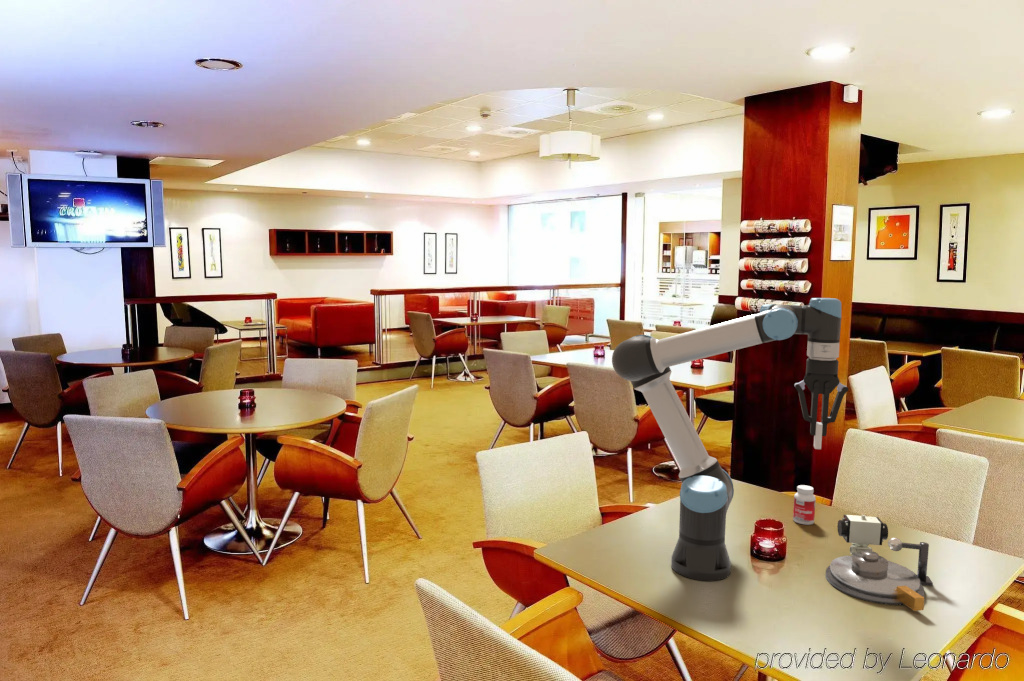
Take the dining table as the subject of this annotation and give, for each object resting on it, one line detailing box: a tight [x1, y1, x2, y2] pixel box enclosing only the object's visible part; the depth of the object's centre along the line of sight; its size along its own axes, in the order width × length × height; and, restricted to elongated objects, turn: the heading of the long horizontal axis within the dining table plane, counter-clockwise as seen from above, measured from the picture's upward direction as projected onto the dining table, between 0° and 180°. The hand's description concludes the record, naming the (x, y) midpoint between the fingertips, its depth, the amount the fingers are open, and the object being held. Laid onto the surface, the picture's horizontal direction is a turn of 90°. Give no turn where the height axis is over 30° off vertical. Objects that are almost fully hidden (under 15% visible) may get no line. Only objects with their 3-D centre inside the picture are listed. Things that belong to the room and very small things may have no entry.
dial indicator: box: [887, 537, 934, 587], centre depth 176 cm, size 10×4×11 cm, turn 73°
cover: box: [851, 550, 889, 580], centre depth 173 cm, size 8×8×5 cm
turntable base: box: [825, 565, 925, 606], centre depth 174 cm, size 22×22×1 cm
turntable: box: [829, 555, 925, 612], centre depth 171 cm, size 20×26×3 cm
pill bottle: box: [792, 484, 817, 526], centre depth 215 cm, size 6×6×11 cm
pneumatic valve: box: [836, 514, 889, 556], centre depth 189 cm, size 6×12×12 cm, turn 78°
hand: (817, 447), depth 180 cm, fingers closed
